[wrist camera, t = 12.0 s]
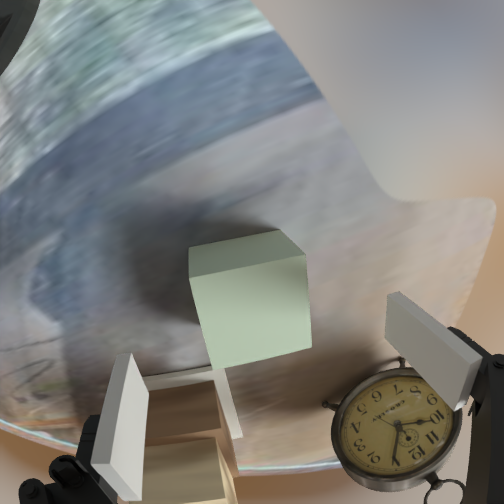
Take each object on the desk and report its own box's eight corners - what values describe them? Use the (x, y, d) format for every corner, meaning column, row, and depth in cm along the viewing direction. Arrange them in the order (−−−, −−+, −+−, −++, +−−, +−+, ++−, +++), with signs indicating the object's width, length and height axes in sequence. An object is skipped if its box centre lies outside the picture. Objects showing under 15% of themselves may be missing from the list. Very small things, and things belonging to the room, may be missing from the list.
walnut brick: (128, 393, 22) (121, 440, 18) (213, 380, 23) (221, 428, 19) (156, 444, 25) (156, 487, 20) (230, 433, 26) (239, 476, 21)
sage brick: (188, 246, 20) (188, 278, 16) (279, 229, 21) (305, 254, 16) (207, 326, 22) (212, 370, 18) (288, 308, 23) (311, 347, 19)
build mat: (113, 380, 22) (112, 385, 22) (223, 363, 24) (224, 368, 23) (150, 446, 26) (150, 450, 25) (242, 432, 27) (243, 436, 26)
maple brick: (132, 447, 18) (128, 506, 13) (215, 437, 19) (225, 498, 14) (161, 486, 20) (163, 535, 15) (232, 477, 21) (242, 527, 16)
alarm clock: (410, 340, 27) (519, 454, 12) (413, 375, 29) (502, 479, 14) (308, 396, 27) (383, 549, 11) (322, 426, 29) (386, 556, 13)
